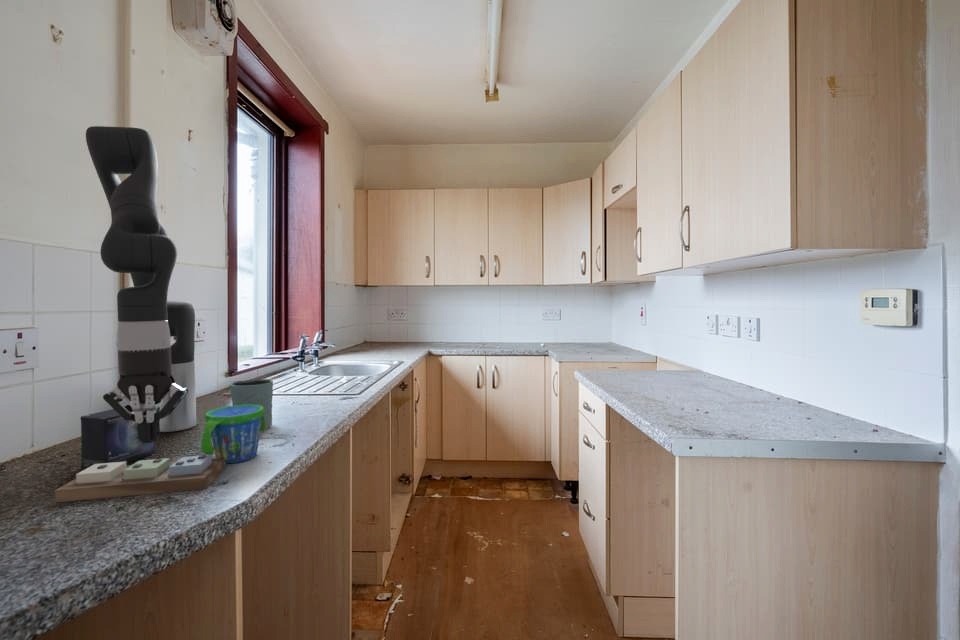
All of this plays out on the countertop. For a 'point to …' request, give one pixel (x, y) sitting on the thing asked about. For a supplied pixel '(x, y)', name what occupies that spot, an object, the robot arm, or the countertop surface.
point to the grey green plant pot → (254, 395)
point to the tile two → (147, 469)
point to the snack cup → (233, 432)
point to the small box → (110, 439)
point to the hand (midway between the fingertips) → (149, 441)
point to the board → (139, 484)
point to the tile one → (101, 472)
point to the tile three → (190, 465)
